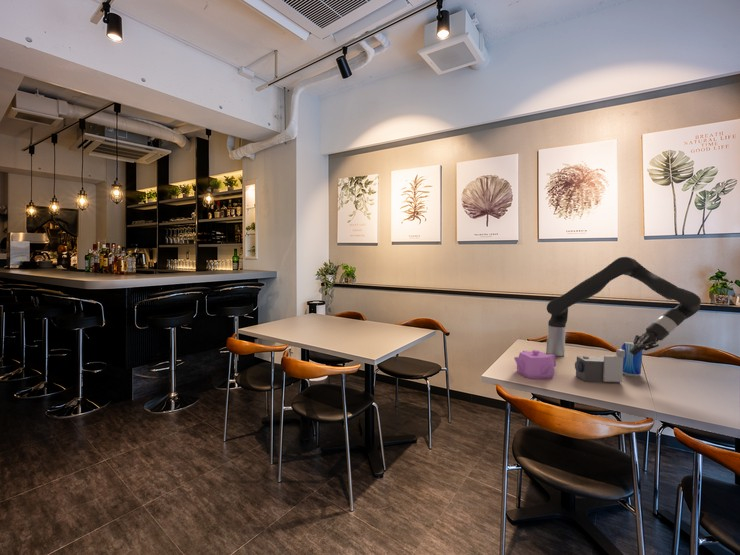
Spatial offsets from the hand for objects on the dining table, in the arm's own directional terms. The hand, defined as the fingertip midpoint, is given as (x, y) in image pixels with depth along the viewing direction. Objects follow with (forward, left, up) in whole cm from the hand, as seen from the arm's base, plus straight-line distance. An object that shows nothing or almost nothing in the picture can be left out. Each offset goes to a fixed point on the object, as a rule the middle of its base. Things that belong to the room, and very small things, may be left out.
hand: (631, 353), depth 163 cm
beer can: (-1, +17, -15) cm, 23 cm away
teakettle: (-38, -16, -15) cm, 43 cm away
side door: (-7, -5, -13) cm, 16 cm away
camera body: (-13, -3, -14) cm, 19 cm away
